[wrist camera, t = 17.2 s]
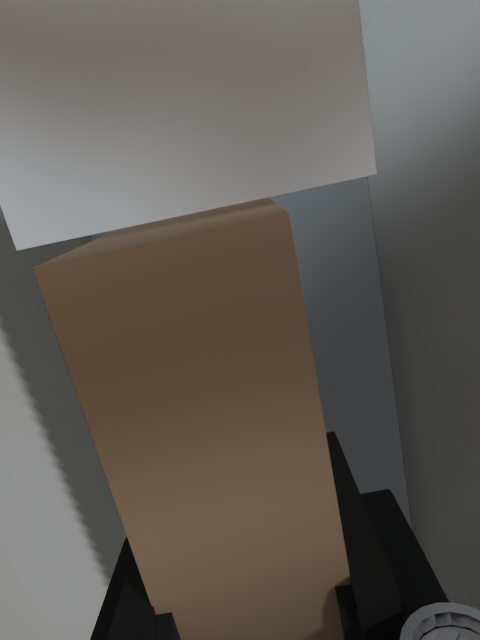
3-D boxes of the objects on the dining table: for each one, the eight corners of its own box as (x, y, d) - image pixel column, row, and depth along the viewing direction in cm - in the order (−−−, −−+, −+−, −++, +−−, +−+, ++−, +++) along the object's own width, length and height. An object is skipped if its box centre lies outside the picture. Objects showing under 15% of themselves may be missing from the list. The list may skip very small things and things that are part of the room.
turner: (-106, -170, 6) (-611, -677, 3) (310, -286, 6) (433, -1075, 2) (216, 762, 13) (205, 1012, 9) (427, 733, 12) (512, 982, 9)
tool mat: (16, -41, 13) (7, -51, 12) (324, -121, 12) (328, -134, 12) (207, 626, 19) (206, 637, 19) (417, 595, 19) (421, 605, 18)
